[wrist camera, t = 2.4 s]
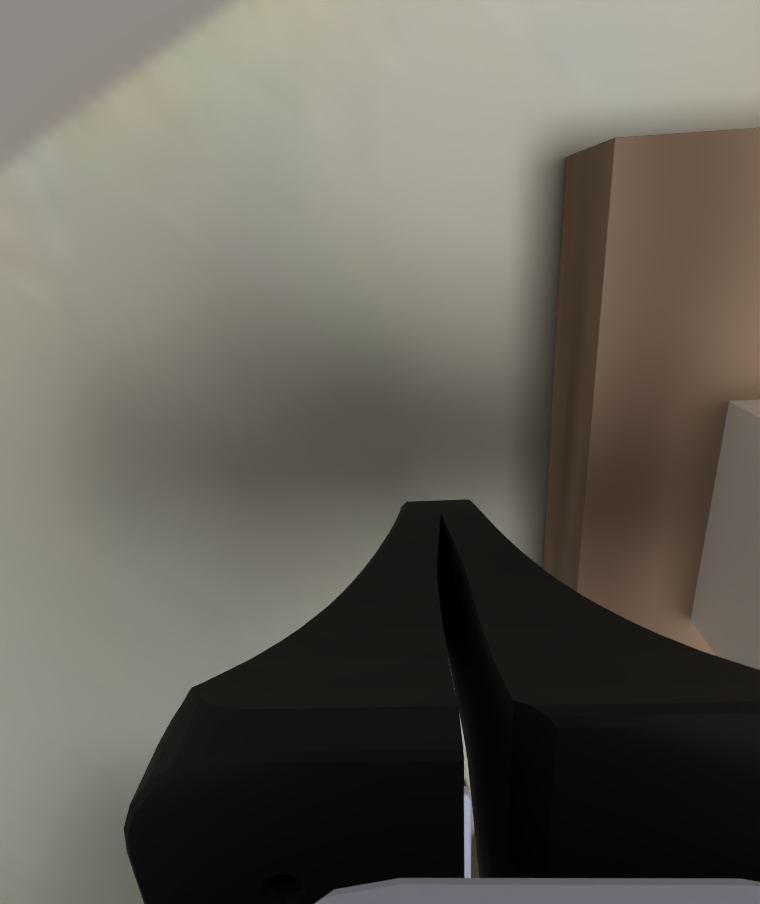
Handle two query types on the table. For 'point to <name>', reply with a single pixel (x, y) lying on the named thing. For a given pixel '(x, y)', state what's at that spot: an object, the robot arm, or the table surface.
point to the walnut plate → (650, 363)
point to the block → (733, 544)
